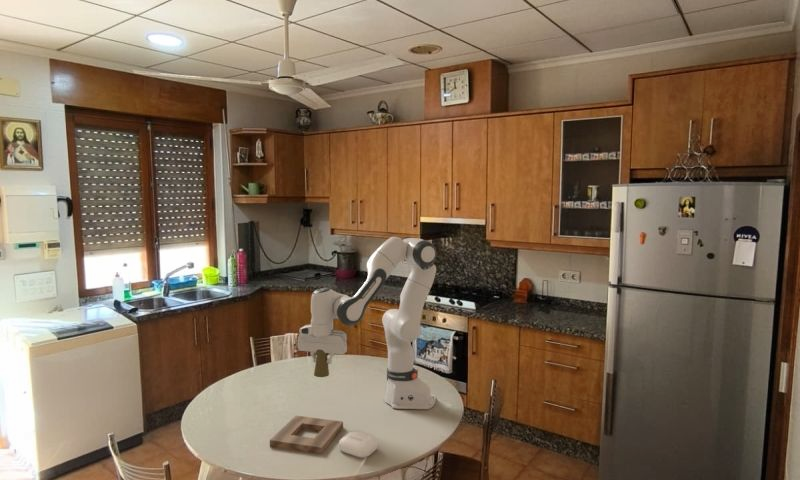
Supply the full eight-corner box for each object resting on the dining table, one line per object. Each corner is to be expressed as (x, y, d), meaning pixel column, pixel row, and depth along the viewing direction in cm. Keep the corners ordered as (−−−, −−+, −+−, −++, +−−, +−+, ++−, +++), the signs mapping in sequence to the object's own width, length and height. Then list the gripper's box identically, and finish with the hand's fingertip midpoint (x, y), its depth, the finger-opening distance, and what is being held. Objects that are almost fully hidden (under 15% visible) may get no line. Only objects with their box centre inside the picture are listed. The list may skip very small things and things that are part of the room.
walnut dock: (343, 429, 183) (343, 421, 183) (321, 455, 164) (321, 447, 164) (296, 422, 189) (295, 415, 188) (269, 448, 169) (269, 439, 169)
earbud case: (351, 440, 175) (351, 426, 175) (381, 449, 169) (381, 435, 168) (334, 453, 166) (334, 438, 166) (365, 463, 160) (365, 448, 160)
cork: (330, 371, 193) (330, 345, 192) (328, 377, 187) (329, 350, 186) (315, 371, 193) (315, 345, 192) (312, 376, 187) (313, 349, 186)
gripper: (349, 328, 189) (349, 362, 190) (302, 325, 194) (303, 358, 196) (343, 333, 183) (343, 368, 184) (295, 329, 188) (295, 363, 189)
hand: (322, 362), depth 190 cm, fingers closed on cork, 4 cm apart
